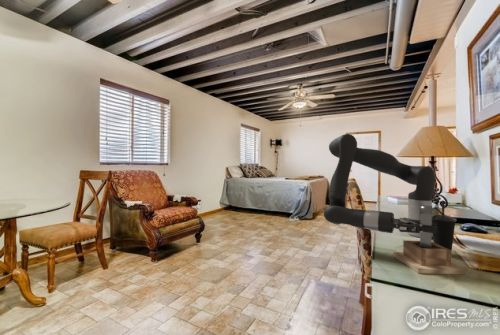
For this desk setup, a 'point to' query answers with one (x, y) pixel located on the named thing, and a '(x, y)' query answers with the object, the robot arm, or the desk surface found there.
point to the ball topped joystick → (425, 220)
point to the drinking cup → (444, 229)
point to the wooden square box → (428, 259)
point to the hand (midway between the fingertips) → (436, 228)
